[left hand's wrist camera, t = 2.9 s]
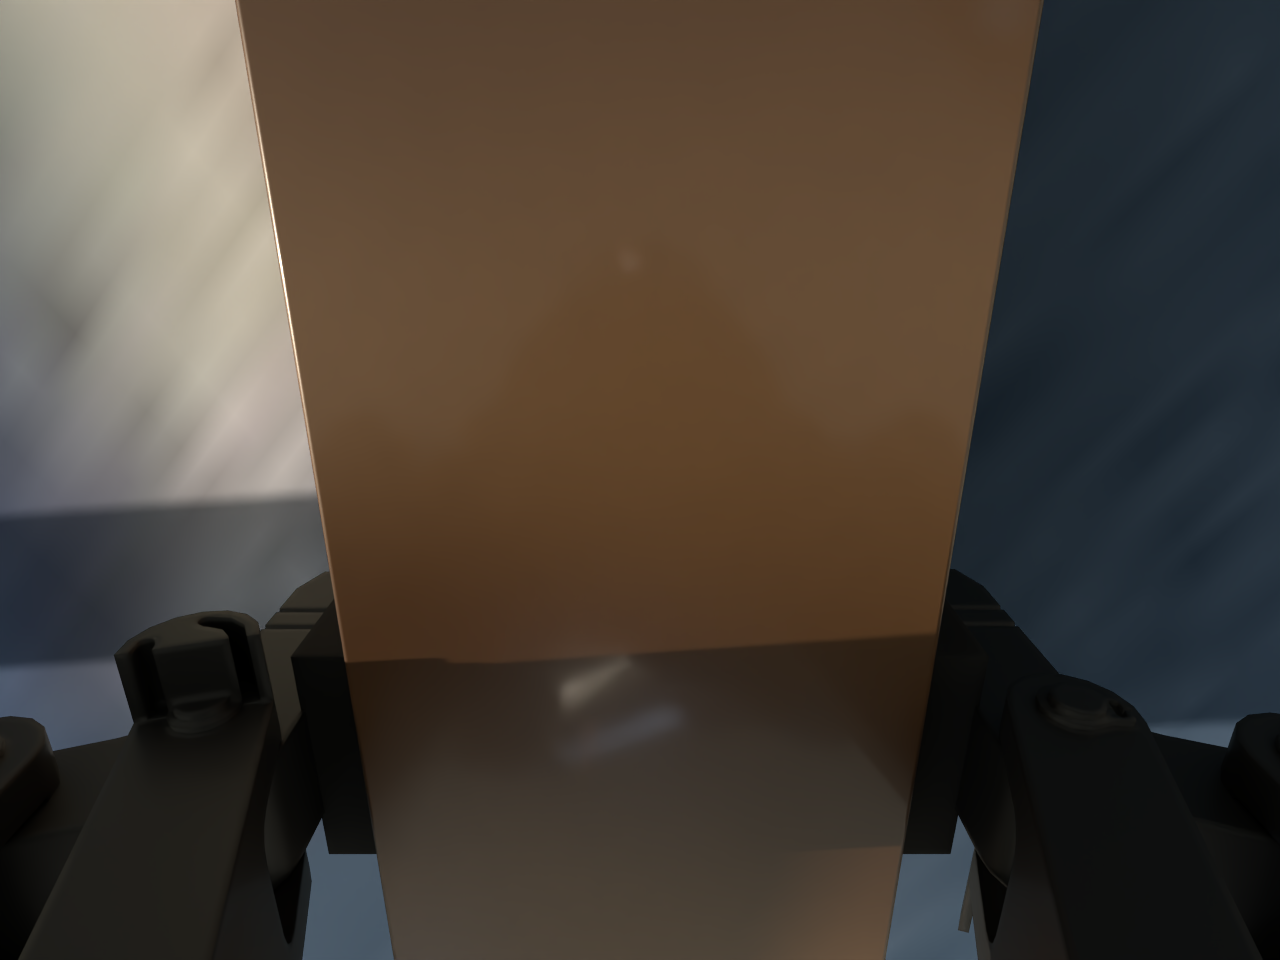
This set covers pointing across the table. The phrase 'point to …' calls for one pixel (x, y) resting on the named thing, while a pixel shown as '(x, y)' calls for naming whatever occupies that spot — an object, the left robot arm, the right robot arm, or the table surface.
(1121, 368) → the table surface
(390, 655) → the brown wooden beam
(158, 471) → the table surface
